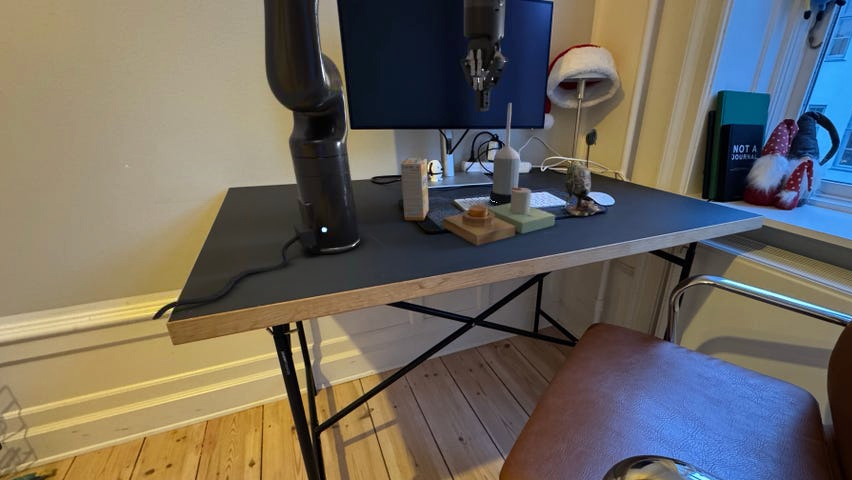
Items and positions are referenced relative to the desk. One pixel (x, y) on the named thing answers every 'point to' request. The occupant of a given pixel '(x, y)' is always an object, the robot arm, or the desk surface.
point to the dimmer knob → (520, 200)
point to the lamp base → (479, 227)
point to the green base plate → (524, 218)
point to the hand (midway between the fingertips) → (482, 110)
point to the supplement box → (415, 188)
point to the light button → (478, 211)
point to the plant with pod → (581, 183)
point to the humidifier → (505, 170)
